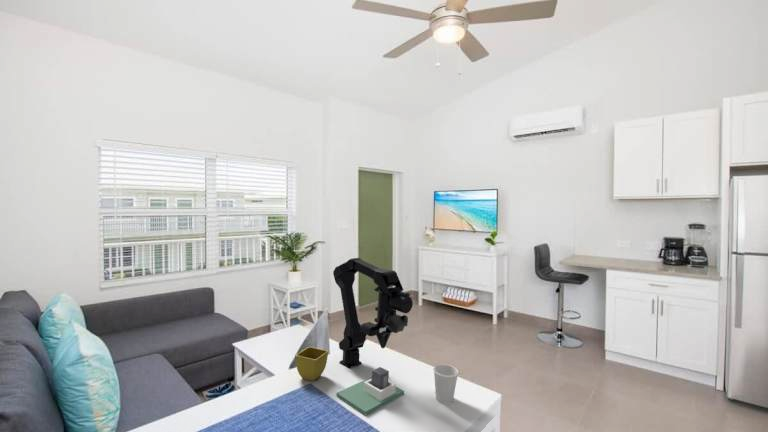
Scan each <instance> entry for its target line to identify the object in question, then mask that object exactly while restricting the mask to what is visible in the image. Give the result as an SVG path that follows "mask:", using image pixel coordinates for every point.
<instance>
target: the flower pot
mask: <svg viewBox="0 0 768 432" xmlns="http://www.w3.org/2000/svg"><path fill="white" fill-rule="evenodd" d="M328 354H329V351H328V350H326V349H321V348H317V347H314V346H308V347H306V348H304V349H303V350H301V351H300V352H298V353H296V354H295V363H296V369H297V372H298V375H299V376H300V378H301V379H304V380H308V381H311V382H315V381H316V380H317V379H318V378H319V377H321V376H322V374H323V372H324V371H325V369H326V366H327V363H328V356H329V355H328Z"/></svg>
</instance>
